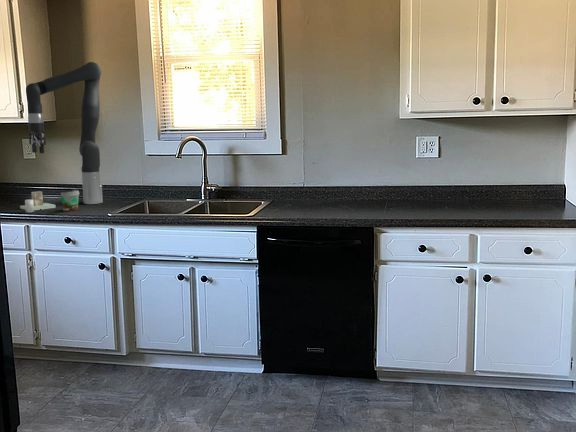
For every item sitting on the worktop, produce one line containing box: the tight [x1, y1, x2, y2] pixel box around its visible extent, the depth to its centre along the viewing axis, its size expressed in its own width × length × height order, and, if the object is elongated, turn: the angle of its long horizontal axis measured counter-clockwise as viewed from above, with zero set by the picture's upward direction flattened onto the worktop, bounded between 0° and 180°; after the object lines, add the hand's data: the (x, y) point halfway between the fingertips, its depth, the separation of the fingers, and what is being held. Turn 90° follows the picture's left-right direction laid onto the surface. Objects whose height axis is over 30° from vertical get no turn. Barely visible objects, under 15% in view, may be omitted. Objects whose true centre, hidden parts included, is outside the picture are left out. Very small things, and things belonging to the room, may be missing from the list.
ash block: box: [31, 191, 44, 206], centre depth 345 cm, size 4×4×7 cm
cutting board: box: [19, 202, 57, 211], centre depth 346 cm, size 14×11×2 cm
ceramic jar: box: [24, 198, 35, 213], centre depth 335 cm, size 4×4×6 cm
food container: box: [60, 189, 80, 213], centre depth 337 cm, size 12×6×10 cm, turn 168°
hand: (38, 152), depth 351 cm, fingers open, 8 cm apart
